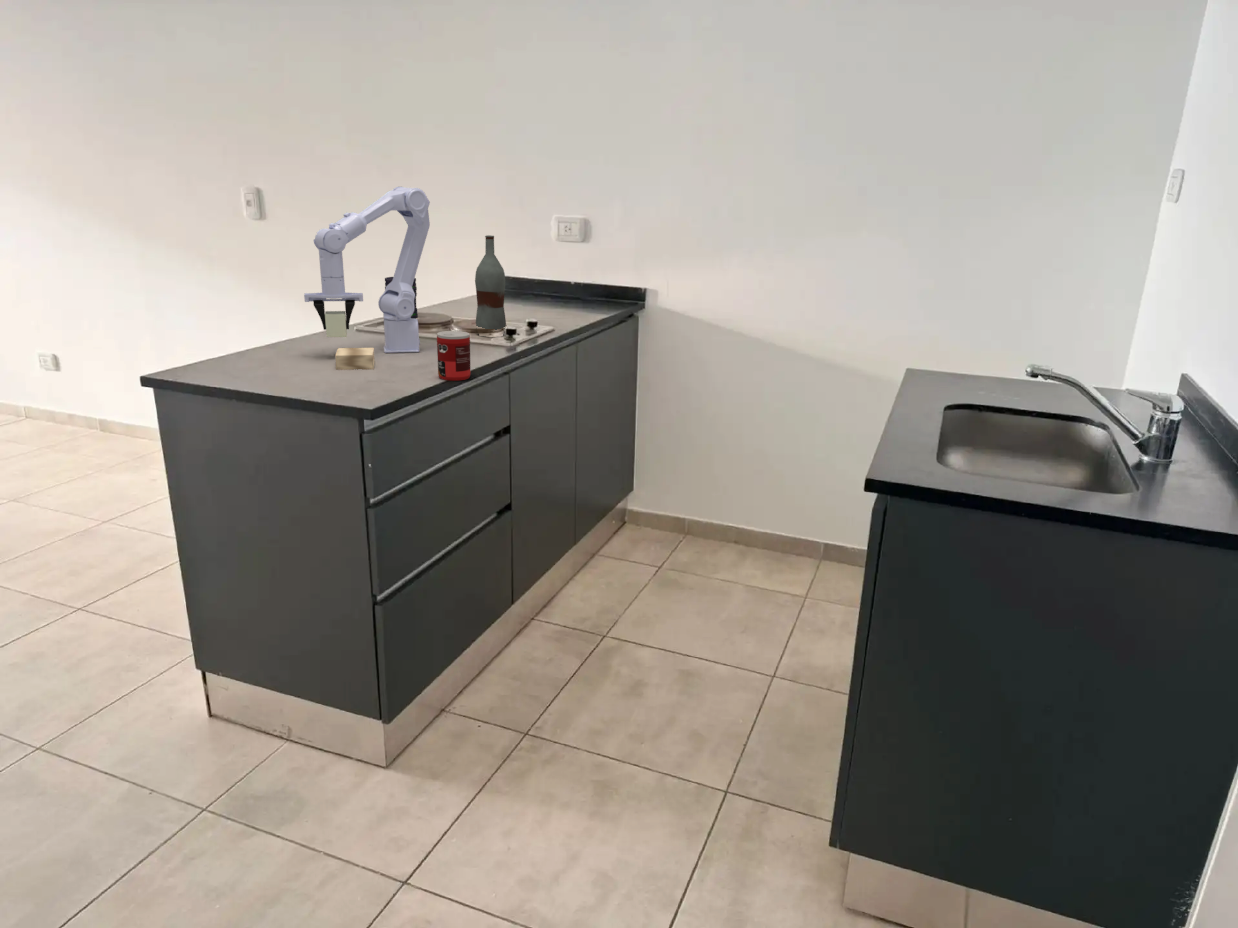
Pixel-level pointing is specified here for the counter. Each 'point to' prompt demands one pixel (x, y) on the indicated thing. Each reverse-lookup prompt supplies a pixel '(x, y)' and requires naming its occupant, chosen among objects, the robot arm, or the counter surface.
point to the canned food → (453, 355)
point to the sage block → (335, 323)
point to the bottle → (490, 290)
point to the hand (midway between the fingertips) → (336, 328)
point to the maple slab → (354, 358)
